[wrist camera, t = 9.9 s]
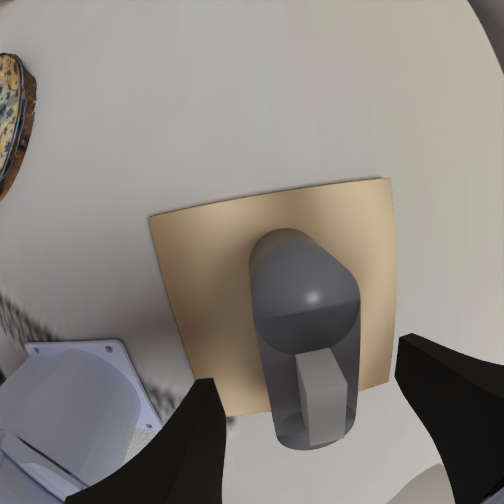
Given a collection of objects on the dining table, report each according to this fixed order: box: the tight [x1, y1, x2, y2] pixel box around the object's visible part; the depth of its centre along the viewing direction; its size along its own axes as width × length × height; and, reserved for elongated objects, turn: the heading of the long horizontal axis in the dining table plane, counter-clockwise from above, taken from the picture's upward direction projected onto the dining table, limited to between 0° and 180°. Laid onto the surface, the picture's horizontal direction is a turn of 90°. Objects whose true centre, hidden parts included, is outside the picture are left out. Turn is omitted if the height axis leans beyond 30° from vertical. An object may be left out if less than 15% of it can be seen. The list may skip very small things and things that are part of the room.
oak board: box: [149, 178, 396, 417], centre depth 14 cm, size 12×13×1 cm
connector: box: [249, 228, 361, 450], centre depth 11 cm, size 4×10×7 cm, turn 10°
